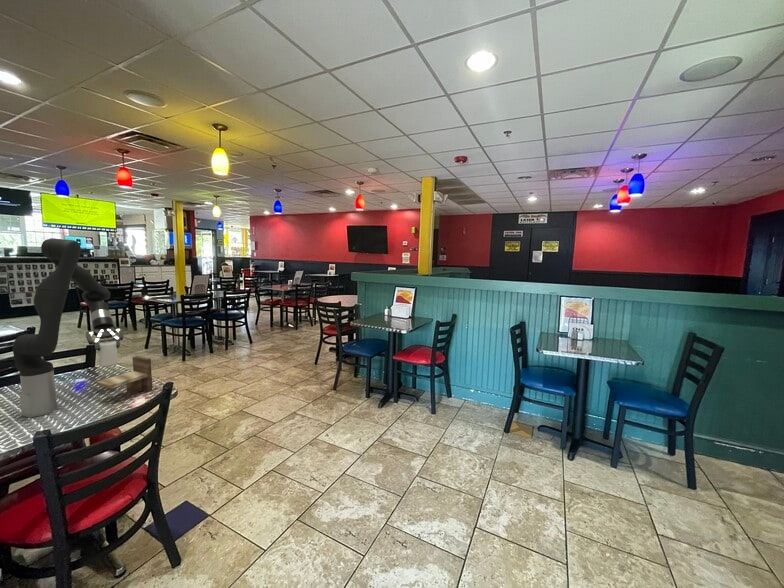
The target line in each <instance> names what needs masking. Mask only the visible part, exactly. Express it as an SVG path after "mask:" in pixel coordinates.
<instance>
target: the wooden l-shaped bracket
mask: <svg viewBox="0 0 784 588" xmlns="http://www.w3.org/2000/svg"><path fill="white" fill-rule="evenodd" d="M152 377H153V373H152V360H151V358H149V357H143V356H138V355H136V356H132V371H129V372H124V373H121V374H118V375H115V376H112V377H108V378H105V379H101V380H98V381H96V386H99V387H102V388H107V389H114V388H117V387H121V386H122V385H123V386H124V385H125V387H126V395H128V396H130V395H132V393H133V394H135V393H138V392H141V391H144V392H148V391H149V392H151V391H153V390H154V389H153V378H152ZM140 390H141V391H140ZM150 390H151V391H150Z"/></svg>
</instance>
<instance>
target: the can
mask: <svg viewBox="0 0 784 588" xmlns="http://www.w3.org/2000/svg"><path fill="white" fill-rule="evenodd" d="M99 345H100V351H98V354H99V355H98V356H99V366H100V367H102V368H103V367H104V368H105V367H106V368H107V367H112V366H116V365H117V364H119V363H118V362H119V361H118V359H119V357H118V348H117V345H116V341H115V339H111V338H105V339H100V341H99Z"/></svg>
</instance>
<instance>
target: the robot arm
mask: <svg viewBox="0 0 784 588" xmlns="http://www.w3.org/2000/svg"><path fill="white" fill-rule="evenodd" d="M40 247H41V252H42V254H43V255H44V256H45V257H46V259H48V260H49V261H51V263H52V264H54V265H55V266H57V267H56V268H55V269H54V271H52V272H51V273H50V274H49V275H48V276H46V277H45V278H44V279H43V280H42V281H41V282H40V283H39V284H38V285H37V287H36V290H35V293H34V296H33V297H34V298H33V301H32V302H33V306H34V309H35V310H36V313H37V314H38V316H39V319H40V321H39V322H40V325H39V329H38V333H27V334H26V333H25V334H21V335H19V336H18V337H16V339H14V341H13V345H12V354H13V359H14V363H15V368H16V370H17V371H18V372H19V378H20V387H21V389H20V390H21V392H19V395H18V396H19V401H20V402H19V403H20V412H21V416H23V417H25V418H29V419H31V418H34V417H35V418H36V417H41V416H44V415H47V414H50V413H53V412H55V411H56V410H57V409H58V402H57V393H56V381H55V371H54V364H53V363H52V362H50V361H47V360H45V359H44V357H48V356H51V355H52V354H54V352H55V350H56V349H57V347H58V341H59V336H60V326H61V322H62V321H61V319H62V316H63V311H64V307H65V304H66V301H67V297H68V294H69V288H70V283H71V281H72V280H73V282H74V284H75V285H76V286H77V287H78V289H80V290H81V291H83V292H82V294H81V298H82V300H84V302H85V304H86V305H87V306H88V308H89V312H90V319H91V324H92V328H93V329H92V331H86V332H85V338H86V340H87V343H88V344H89V345H94V349H95V351H97V352H99V351H100V345H99V343H100V341H101V340H106V339H115V341H116V345H117V349H119V348H120V346H121V343H120V342H121V341H123V340H124V327H120V328H116V327H115V325H114V321H113V318H112V317H113V316H112V314H111V311H110V307H109V304H108V303H107V302H105V301H107V300H109V299H110V298H111V292H110V290H109V289H108V288H107V287H105V286H104V285H102V284H101V283H100V282H98V281H97V280H96V279H95V276H93V275H92V273H90V272H89V271H88V270H87V269H85V268H83V266H80V265H78V262H79V259H80V258H81V253H82V247H81V244H80V243H79V242H78V241H77V240H73V239H63V238H59V239H58V238H47V239H44V241H42V243H41V246H40ZM116 332H117V334H119V336H118V335H117V334H116ZM93 335H94V336H95V340H93V338H92V337H93ZM41 357H43V359H42V358H41Z"/></svg>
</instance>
